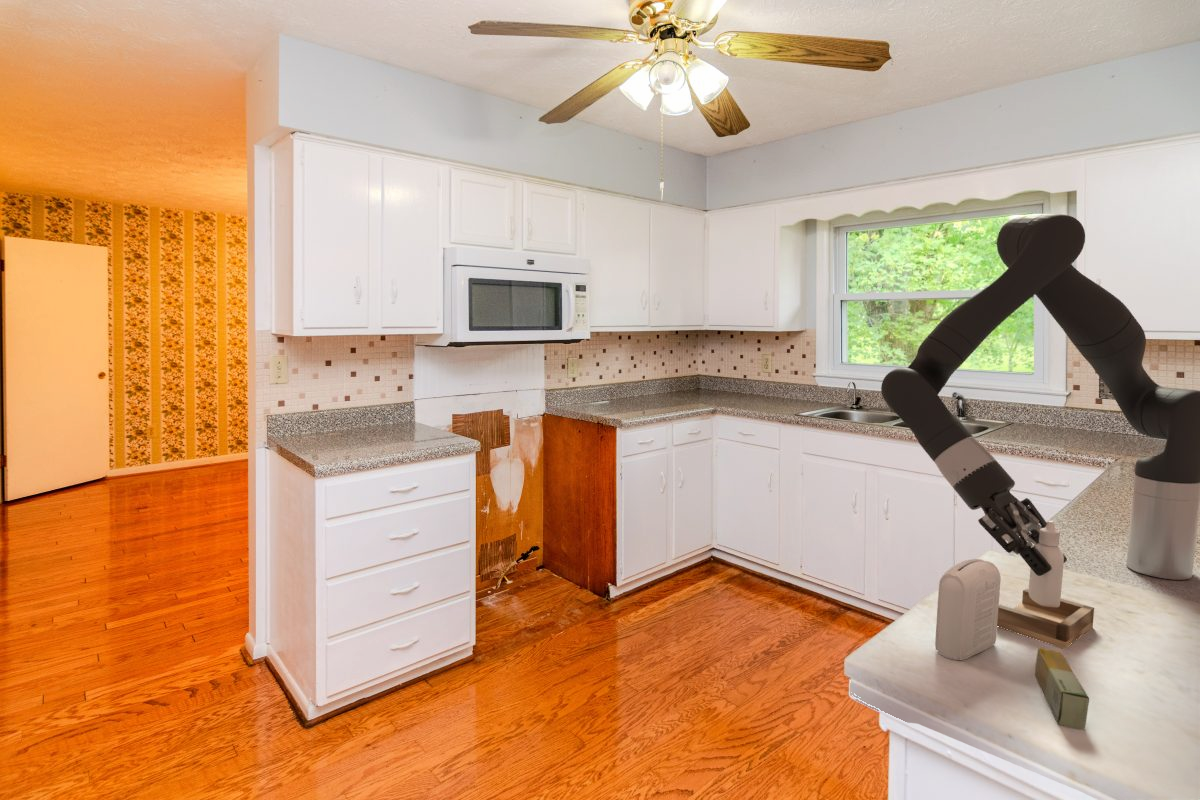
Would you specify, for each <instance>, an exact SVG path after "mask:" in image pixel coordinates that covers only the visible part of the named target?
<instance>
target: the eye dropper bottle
mask: <svg viewBox="0 0 1200 800" xmlns="http://www.w3.org/2000/svg"><path fill="white" fill-rule="evenodd" d="M1046 522H1047V525H1046V527H1045V528H1041V529H1040V534H1039V543H1037V544H1035V545H1034V544H1033V546H1035V548H1036V549H1037V550H1038V551H1039V552H1040V554H1041V555H1042V556H1043V557H1044V558H1045V559H1046V561H1047V562H1048V563H1049V564H1050V565H1051V567H1052V569H1051V570H1050V571H1049V572H1047V573H1045V574H1043V575H1041V576H1038V575H1036V574H1035V573H1034V571H1033V570H1032V569H1031V568H1030V567H1029V568H1030V569H1029V579H1028V589H1029V590H1028V594H1029V597H1030V598H1031V599H1032V600H1033V601H1034V602H1036V603H1038V604H1039V605H1042V606H1046V607H1059V606H1060V599H1062V597H1061V596H1062V586H1063V585H1062V584H1063V576H1064V564H1065V563H1064V556H1065V555H1064V556H1063V554H1064V553H1063V551H1062V549H1061V548H1060V547H1059V546H1060V538H1061V537H1060V533H1061V532H1060V531H1059V530H1058V529H1056V528H1055V522H1054V521H1053V520H1047V521H1046Z"/></svg>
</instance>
